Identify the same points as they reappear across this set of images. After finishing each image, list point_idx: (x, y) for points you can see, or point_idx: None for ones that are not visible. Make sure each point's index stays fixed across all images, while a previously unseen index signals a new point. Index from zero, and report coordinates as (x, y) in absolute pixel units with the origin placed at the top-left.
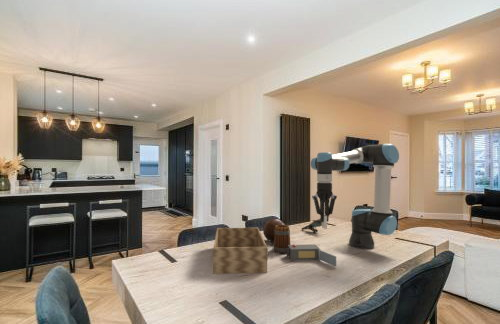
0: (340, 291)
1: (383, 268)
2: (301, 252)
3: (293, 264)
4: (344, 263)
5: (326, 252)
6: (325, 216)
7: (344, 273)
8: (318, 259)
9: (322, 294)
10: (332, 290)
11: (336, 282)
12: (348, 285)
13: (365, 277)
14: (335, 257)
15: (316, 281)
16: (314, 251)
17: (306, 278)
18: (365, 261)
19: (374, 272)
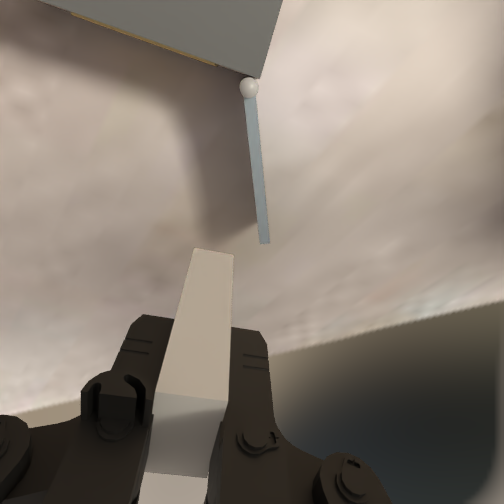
0: None
1: (458, 296)
2: (102, 25)
3: (38, 84)
4: (350, 186)
5: (259, 160)
6: (175, 461)
7: (251, 282)
8: (240, 81)
9: (61, 377)
10: (109, 368)
11: None
12: None
13: (302, 333)
14: (261, 242)
15: (83, 304)
16: (212, 64)
17: (50, 269)
18: (479, 203)
19: (380, 312)
